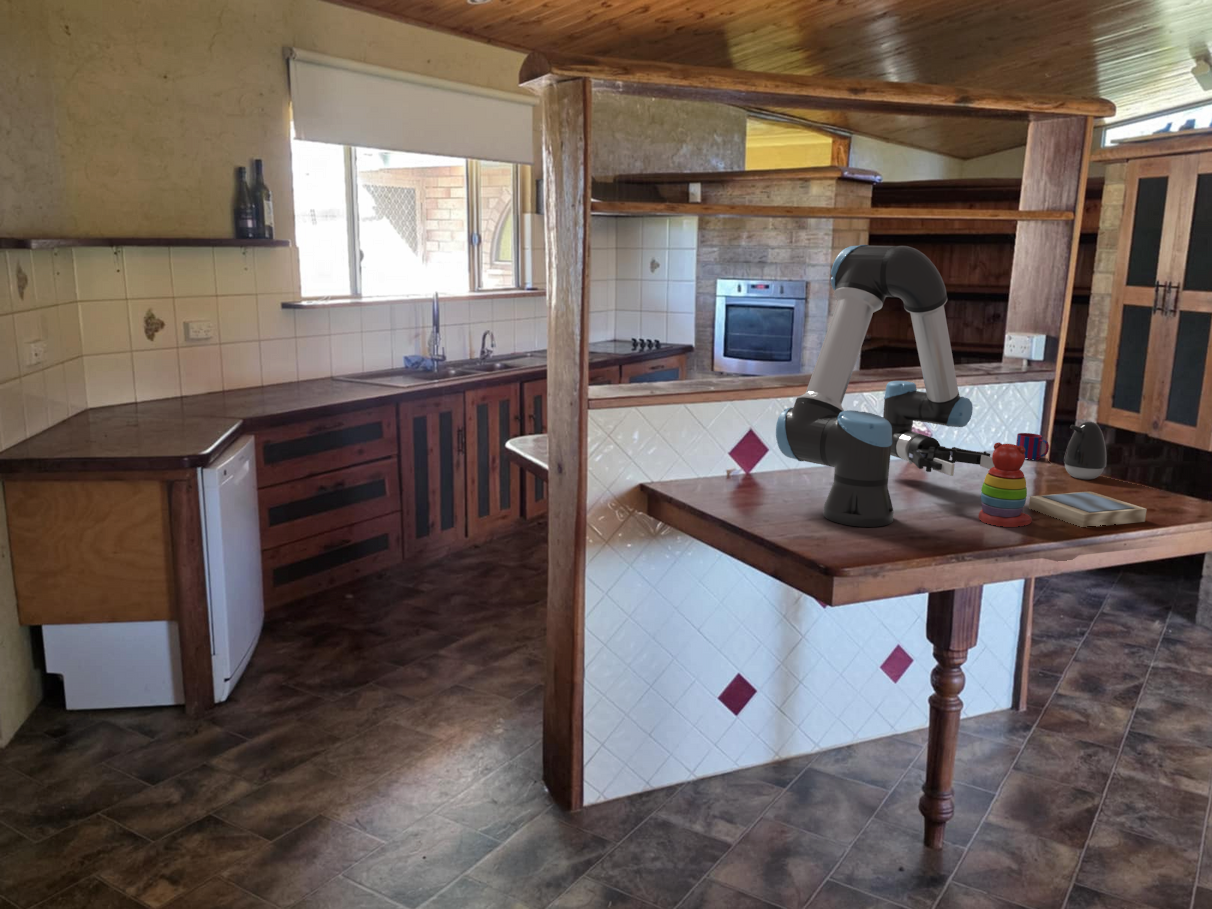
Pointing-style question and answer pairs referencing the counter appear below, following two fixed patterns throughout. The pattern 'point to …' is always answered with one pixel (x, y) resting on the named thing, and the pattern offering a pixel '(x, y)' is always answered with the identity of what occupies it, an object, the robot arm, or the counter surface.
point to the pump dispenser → (1086, 452)
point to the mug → (1031, 445)
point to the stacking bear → (1005, 488)
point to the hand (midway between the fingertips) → (977, 468)
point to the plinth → (1087, 509)
